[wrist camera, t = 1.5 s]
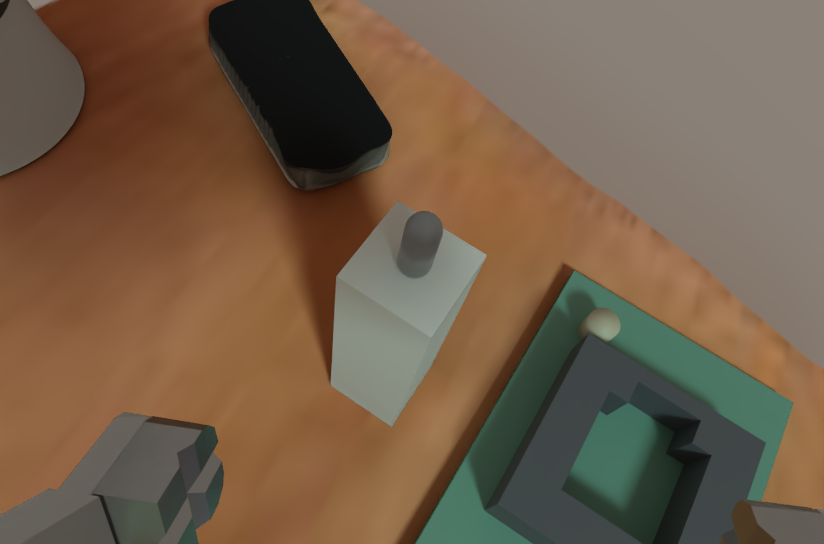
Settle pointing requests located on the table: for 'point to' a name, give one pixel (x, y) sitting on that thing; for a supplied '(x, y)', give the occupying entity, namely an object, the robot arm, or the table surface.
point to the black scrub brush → (299, 91)
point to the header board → (612, 437)
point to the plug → (397, 308)
